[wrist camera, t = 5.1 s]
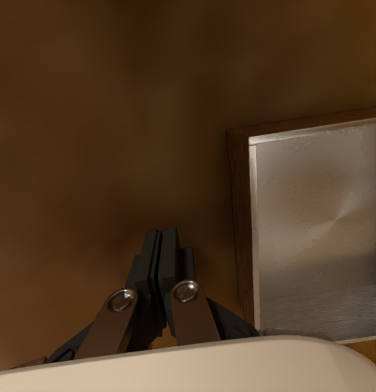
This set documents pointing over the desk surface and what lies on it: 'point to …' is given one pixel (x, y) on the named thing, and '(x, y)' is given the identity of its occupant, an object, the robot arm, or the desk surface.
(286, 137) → the baking pan
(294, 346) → the robot arm
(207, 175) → the desk surface
